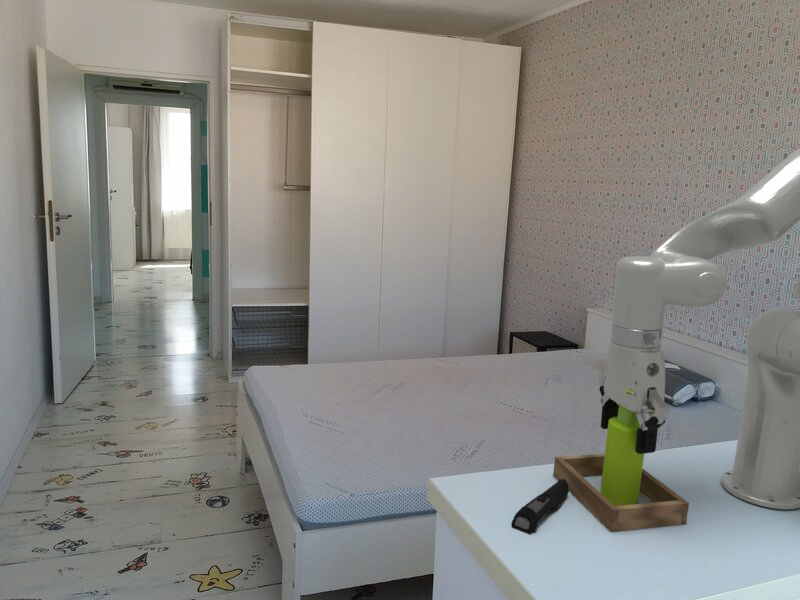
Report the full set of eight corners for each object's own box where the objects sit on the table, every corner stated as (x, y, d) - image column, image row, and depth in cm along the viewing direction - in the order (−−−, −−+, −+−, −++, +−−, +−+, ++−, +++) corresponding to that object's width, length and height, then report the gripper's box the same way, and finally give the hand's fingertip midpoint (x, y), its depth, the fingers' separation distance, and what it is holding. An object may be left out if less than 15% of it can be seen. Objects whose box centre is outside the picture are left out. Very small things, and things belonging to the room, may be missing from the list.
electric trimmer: (574, 499, 104) (576, 481, 103) (532, 538, 92) (533, 517, 91) (552, 492, 106) (554, 474, 106) (508, 528, 94) (510, 508, 93)
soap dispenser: (598, 506, 101) (612, 386, 97) (600, 487, 107) (613, 374, 103) (638, 514, 99) (653, 392, 95) (637, 494, 105) (652, 379, 102)
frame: (619, 470, 114) (621, 452, 113) (686, 524, 97) (689, 503, 96) (553, 475, 111) (555, 457, 110) (610, 531, 94) (613, 510, 93)
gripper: (694, 350, 91) (682, 460, 95) (625, 322, 108) (616, 417, 111) (649, 353, 90) (638, 465, 93) (585, 324, 106) (578, 421, 109)
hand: (626, 439), depth 102 cm, fingers open, 9 cm apart
